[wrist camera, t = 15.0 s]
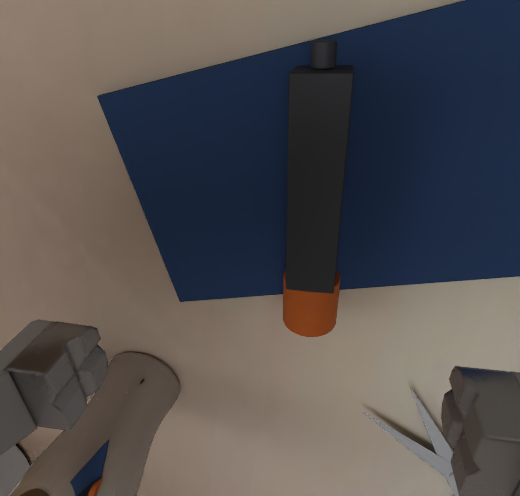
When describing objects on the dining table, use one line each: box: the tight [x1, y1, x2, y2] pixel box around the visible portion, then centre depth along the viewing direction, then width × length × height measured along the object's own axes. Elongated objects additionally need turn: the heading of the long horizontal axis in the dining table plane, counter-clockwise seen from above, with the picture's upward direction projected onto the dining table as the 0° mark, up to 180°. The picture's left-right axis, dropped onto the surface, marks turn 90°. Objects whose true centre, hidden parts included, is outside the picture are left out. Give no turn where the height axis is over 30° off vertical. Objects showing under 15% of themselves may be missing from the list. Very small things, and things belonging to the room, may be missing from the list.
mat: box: [97, 0, 520, 302], centre depth 20 cm, size 20×13×1 cm, turn 103°
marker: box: [283, 40, 354, 337], centre depth 18 cm, size 14×3×3 cm, turn 1°
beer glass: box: [7, 352, 180, 496], centre depth 24 cm, size 7×7×15 cm
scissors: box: [360, 389, 459, 496], centre depth 28 cm, size 11×1×20 cm
